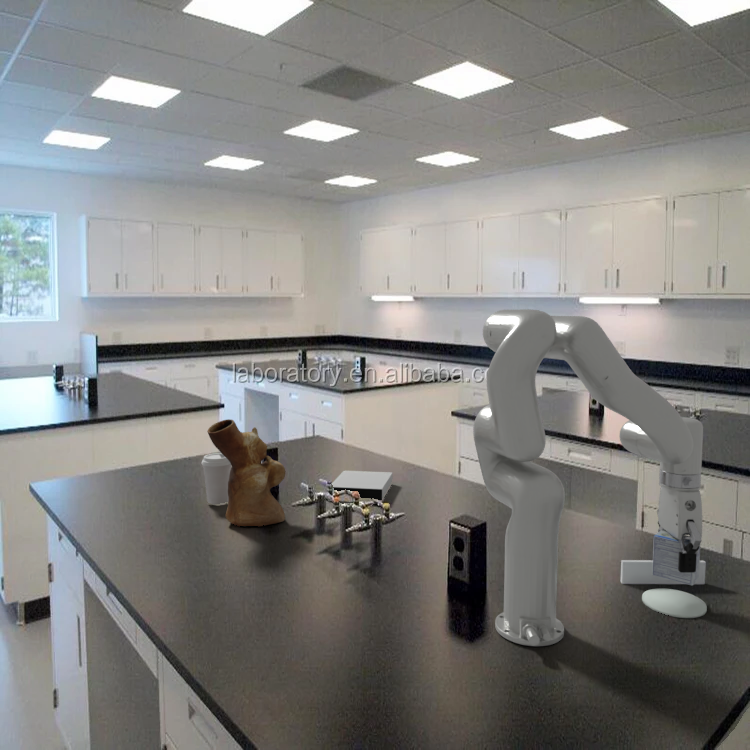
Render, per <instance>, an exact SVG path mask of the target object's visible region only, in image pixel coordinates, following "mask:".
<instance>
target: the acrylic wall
mask: <svg viewBox="0 0 750 750" xmlns="http://www.w3.org/2000/svg"><path fill="white" fill-rule="evenodd" d="M620 562H621V563H620V583H621V584H622V585H686V584H685V583H681V582H677V581H673V580H669V579H665V578H661V577H658V576H654V575H652V571H653V559H652V560H649V559H646V560H645V559H640V560H639V559H636V560H635V559H621V560H620ZM706 563H707V562H706V561H705V560H700V569H699V579H698V580H697V581H696V583H695V584H694V585H705V582H706V581H705V580H706V568H707V567H706V566H707V564H706Z"/></svg>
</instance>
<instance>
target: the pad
mask: <svg viewBox="0 0 750 750" xmlns="http://www.w3.org/2000/svg"><path fill="white" fill-rule="evenodd" d="M641 601H642V603H643V604H644V605H645V606H646V607H647V608H649V609H650V610H652V611H654V612H657V613H658V612H659V614H661V613H662V615H664V614H665V615H666V616H668V615H669V616H668V617H673V618H678V619H679V618H680V619H696V618H700V617H702V616H704V615H705V614H707V611H708V610H707V609H708V607H707V603H706V602H705V601H704V600H702V599H701V598H700V597H698V596H697V595H694V594H692V593H689V592H686V591H682V590H678V589H675V588H674V589H672V588H664V587H663V588H662V587H661V588H659V587H658V588H652V589H651V588H650V589H648V590H646V591H644V592H643V593H642V595H641Z"/></svg>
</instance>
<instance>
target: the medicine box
mask: <svg viewBox="0 0 750 750" xmlns="http://www.w3.org/2000/svg"><path fill="white" fill-rule="evenodd" d="M682 537H690V536H689V535H682ZM684 542H685V546H686V545H687V544H688V543H690V541H684ZM699 546H700V547H699V549H698V553H697V556H696V572H691V573H681V572H679V571H678V563H679V552H681V548H680V544H679V540H678V539H676V538H675V537H674V536H672V535H671V534H670V533H668V532H667V531H662V530H661V531H660V532H657V533H655V534H654V535H653V545H652V547H653V548H652V560H653V571H652V575H654V576H658V577H661V578H665V579H669V580H673V581H677V582H681V583H685V584H684V585H689V586H695V585H696V584H695V583H696V581H697V580H698V579H699V569H700V561H701V560H700V559H701V544H700V545H699Z"/></svg>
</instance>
